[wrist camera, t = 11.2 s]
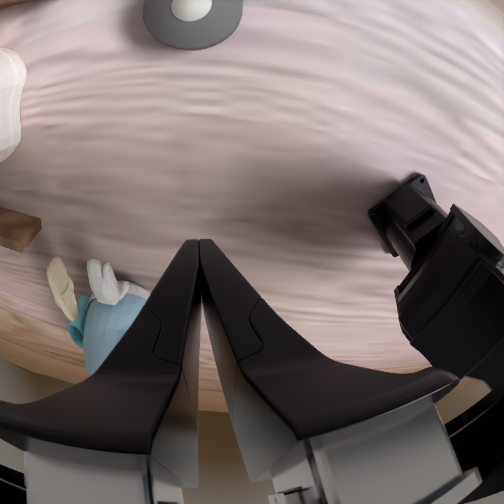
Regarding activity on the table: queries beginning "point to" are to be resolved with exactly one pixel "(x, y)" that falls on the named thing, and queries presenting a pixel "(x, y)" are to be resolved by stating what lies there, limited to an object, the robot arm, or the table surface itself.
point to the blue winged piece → (96, 308)
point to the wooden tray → (13, 223)
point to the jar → (10, 101)
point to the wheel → (192, 21)
